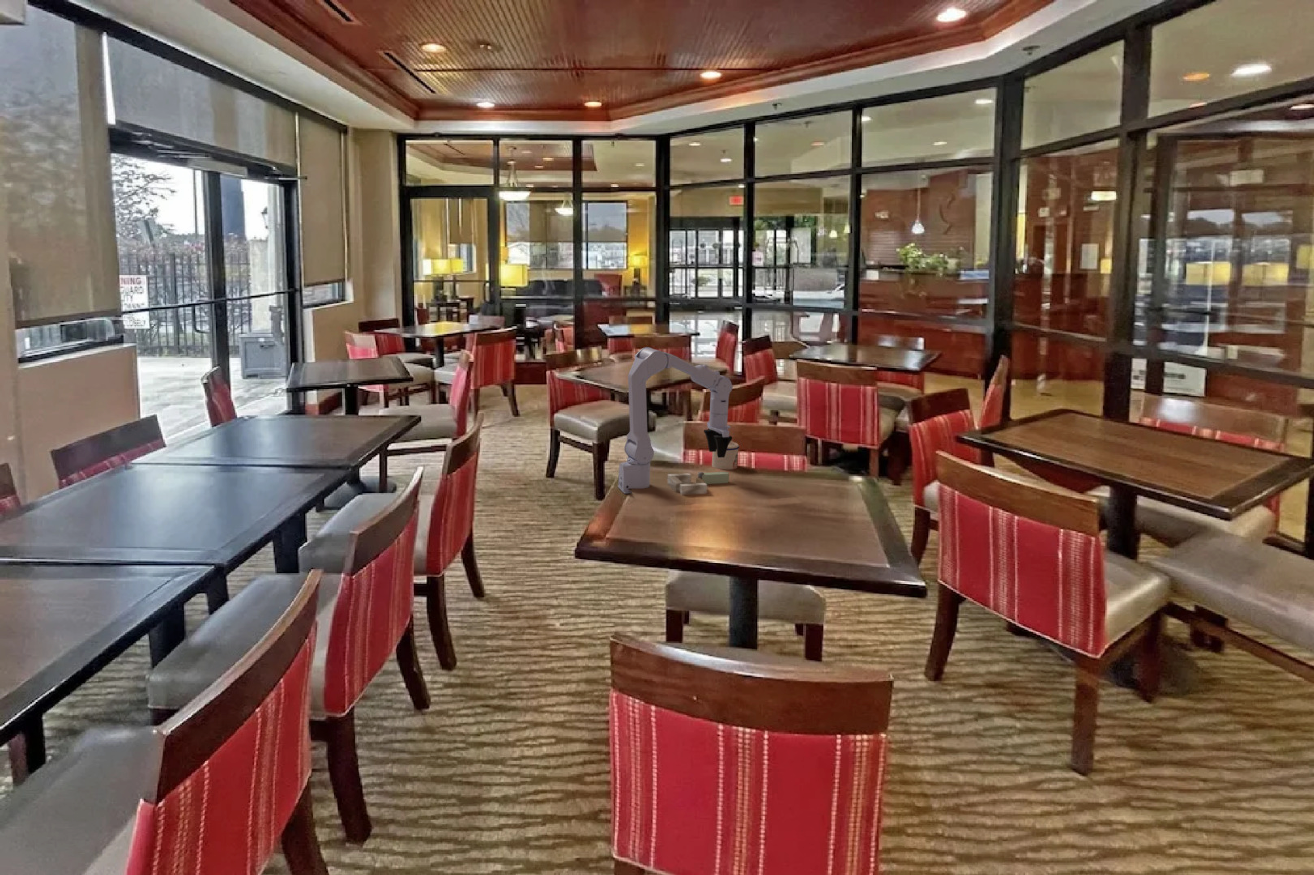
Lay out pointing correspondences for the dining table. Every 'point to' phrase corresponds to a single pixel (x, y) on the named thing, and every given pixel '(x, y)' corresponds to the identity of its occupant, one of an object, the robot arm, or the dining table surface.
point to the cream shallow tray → (680, 484)
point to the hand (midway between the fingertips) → (716, 454)
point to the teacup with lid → (726, 458)
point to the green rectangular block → (714, 477)
